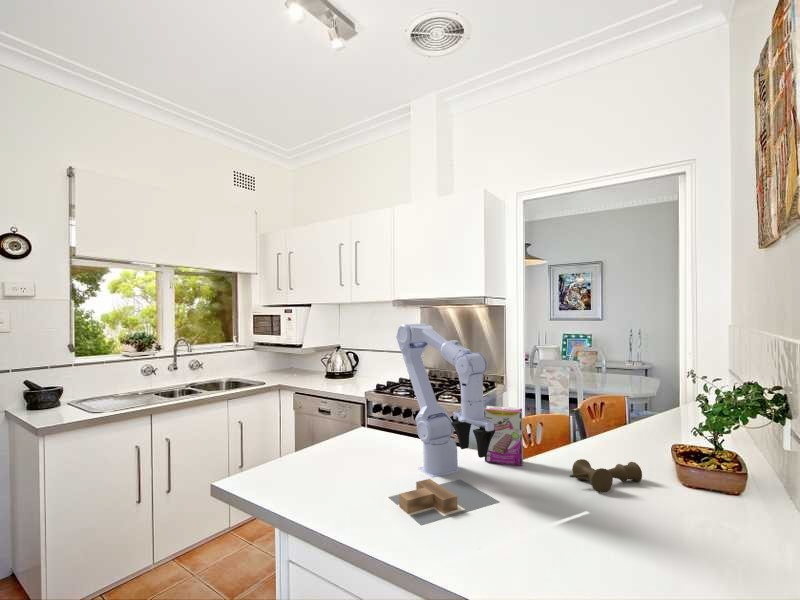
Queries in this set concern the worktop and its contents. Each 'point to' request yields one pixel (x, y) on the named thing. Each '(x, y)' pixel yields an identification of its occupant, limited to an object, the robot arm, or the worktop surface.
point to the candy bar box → (505, 435)
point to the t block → (428, 498)
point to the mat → (466, 499)
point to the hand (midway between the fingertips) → (473, 452)
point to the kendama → (605, 474)
